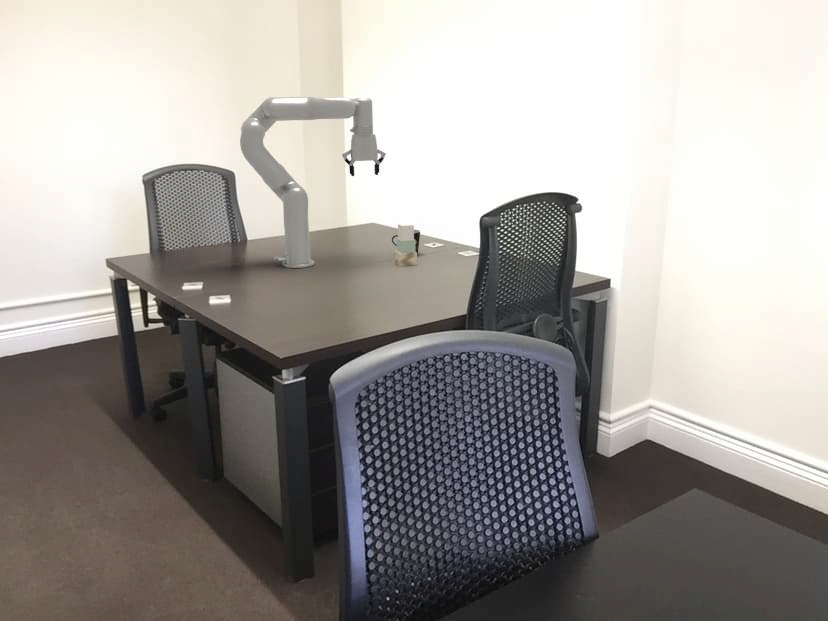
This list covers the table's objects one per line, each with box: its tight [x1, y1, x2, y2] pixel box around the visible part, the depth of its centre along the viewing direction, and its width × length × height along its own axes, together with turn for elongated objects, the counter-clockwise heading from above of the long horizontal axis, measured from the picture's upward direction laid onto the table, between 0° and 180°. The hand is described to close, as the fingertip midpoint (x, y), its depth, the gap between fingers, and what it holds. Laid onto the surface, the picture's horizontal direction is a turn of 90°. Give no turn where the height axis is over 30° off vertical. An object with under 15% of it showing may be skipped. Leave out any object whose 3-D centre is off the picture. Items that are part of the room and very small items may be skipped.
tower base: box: [394, 249, 418, 267], centre depth 291 cm, size 7×7×5 cm
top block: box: [397, 222, 415, 241], centre depth 287 cm, size 5×5×6 cm
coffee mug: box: [391, 229, 421, 256], centre depth 305 cm, size 12×9×10 cm
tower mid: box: [396, 237, 416, 254], centre depth 289 cm, size 6×6×5 cm
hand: (364, 175), depth 289 cm, fingers open, 9 cm apart
